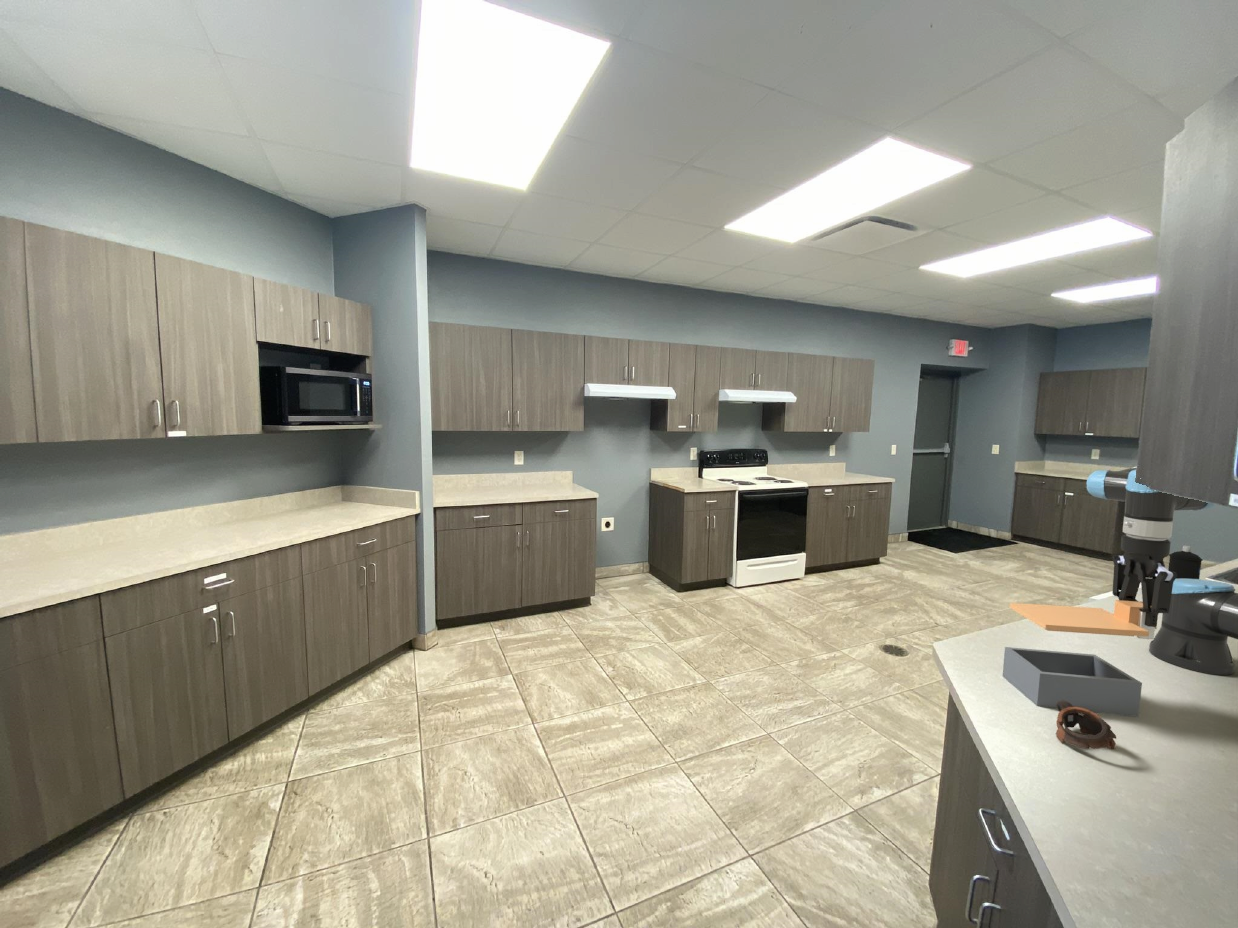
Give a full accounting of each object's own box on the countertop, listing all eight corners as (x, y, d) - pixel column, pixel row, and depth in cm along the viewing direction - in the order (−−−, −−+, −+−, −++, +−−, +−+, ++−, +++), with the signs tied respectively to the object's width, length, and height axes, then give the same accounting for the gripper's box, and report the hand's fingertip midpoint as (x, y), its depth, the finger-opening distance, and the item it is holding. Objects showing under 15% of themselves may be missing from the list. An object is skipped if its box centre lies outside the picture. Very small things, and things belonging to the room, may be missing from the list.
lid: (1123, 617, 116) (1126, 594, 115) (1175, 641, 103) (1178, 616, 102) (1009, 610, 120) (1011, 588, 120) (1045, 632, 108) (1047, 608, 107)
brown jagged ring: (1134, 762, 92) (1128, 733, 90) (1082, 775, 94) (1075, 748, 91) (1080, 710, 103) (1073, 684, 101) (1035, 723, 105) (1027, 698, 103)
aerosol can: (1178, 600, 175) (1185, 548, 174) (1157, 592, 183) (1163, 542, 182) (1204, 602, 174) (1211, 549, 172) (1182, 593, 182) (1188, 544, 180)
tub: (1091, 684, 118) (1094, 654, 117) (1138, 716, 105) (1142, 682, 105) (1002, 676, 122) (1005, 646, 121) (1036, 705, 109) (1040, 673, 108)
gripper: (1096, 527, 117) (1088, 617, 119) (1161, 545, 100) (1150, 649, 102) (1132, 528, 115) (1123, 619, 117) (1204, 547, 99) (1192, 652, 101)
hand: (1135, 633), depth 110 cm, fingers closed on lid, 4 cm apart
